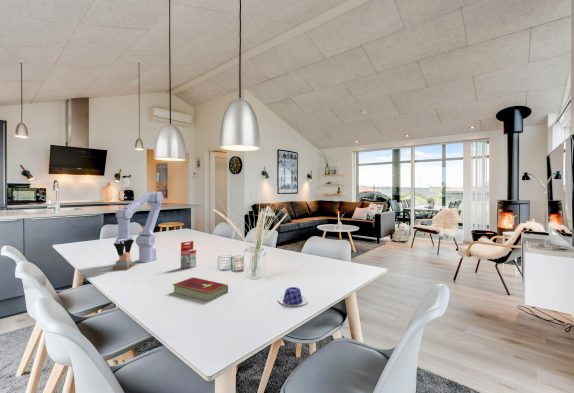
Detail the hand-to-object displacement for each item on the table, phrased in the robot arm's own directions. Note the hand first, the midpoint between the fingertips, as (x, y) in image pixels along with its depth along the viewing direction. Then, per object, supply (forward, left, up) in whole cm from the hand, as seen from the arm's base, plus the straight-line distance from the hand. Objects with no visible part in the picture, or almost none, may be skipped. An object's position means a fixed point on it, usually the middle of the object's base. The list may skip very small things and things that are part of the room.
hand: (124, 253), depth 160 cm
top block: (0, 0, -6) cm, 6 cm away
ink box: (-16, +32, -8) cm, 37 cm away
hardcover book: (+12, +64, -9) cm, 66 cm away
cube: (0, 0, -4) cm, 4 cm away
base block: (0, 0, -9) cm, 9 cm away
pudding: (+5, +105, -8) cm, 105 cm away
